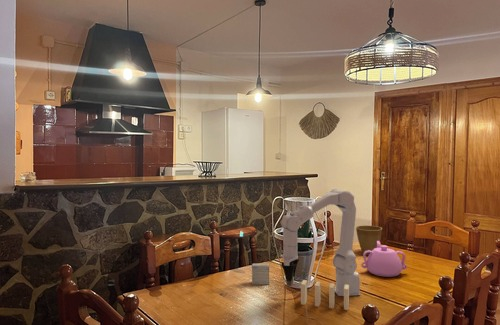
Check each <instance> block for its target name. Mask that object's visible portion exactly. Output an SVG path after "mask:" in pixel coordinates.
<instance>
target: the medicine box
mask: <svg viewBox="0 0 500 325" xmlns="http://www.w3.org/2000/svg"><path fill="white" fill-rule="evenodd" d="M251 283H252V286H254V285H255V286H259V285H261V286H262V285H263V286H264V285H270V264H269V263H266V262H265V263H264V262H262V263H260V262H259V263H252V264H251Z"/></svg>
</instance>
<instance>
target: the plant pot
mask: <svg viewBox="0 0 500 325" xmlns="http://www.w3.org/2000/svg"><path fill="white" fill-rule="evenodd" d="M355 230H356V235H357V239H358V240H357V241H358V244H359V247H360V249H361V252H362V254H363V253H364V252H365V251H367V250H370V251H372V250H373V249H375V248H377V241H380V242H381V238H382V232H383V227H380V226H377V225H358V226H355ZM369 255H370V253H366V255H365V256H367V257H368V256H369Z"/></svg>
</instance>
